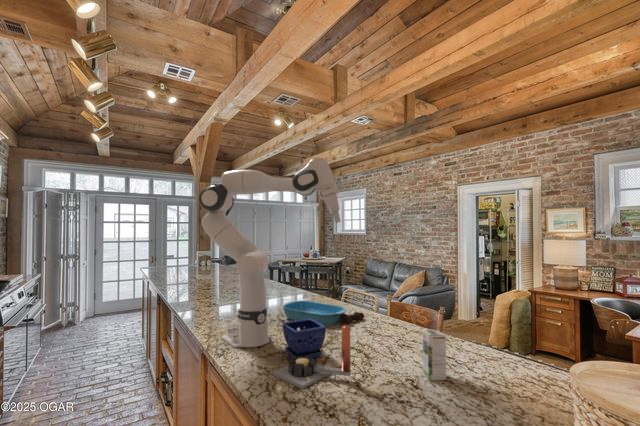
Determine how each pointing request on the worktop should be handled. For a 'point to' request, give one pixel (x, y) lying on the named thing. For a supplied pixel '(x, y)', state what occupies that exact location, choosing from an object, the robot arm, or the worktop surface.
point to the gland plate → (297, 380)
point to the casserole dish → (314, 312)
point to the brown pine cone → (351, 317)
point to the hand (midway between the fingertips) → (338, 222)
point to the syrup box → (434, 355)
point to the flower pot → (304, 338)
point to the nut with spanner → (312, 367)
